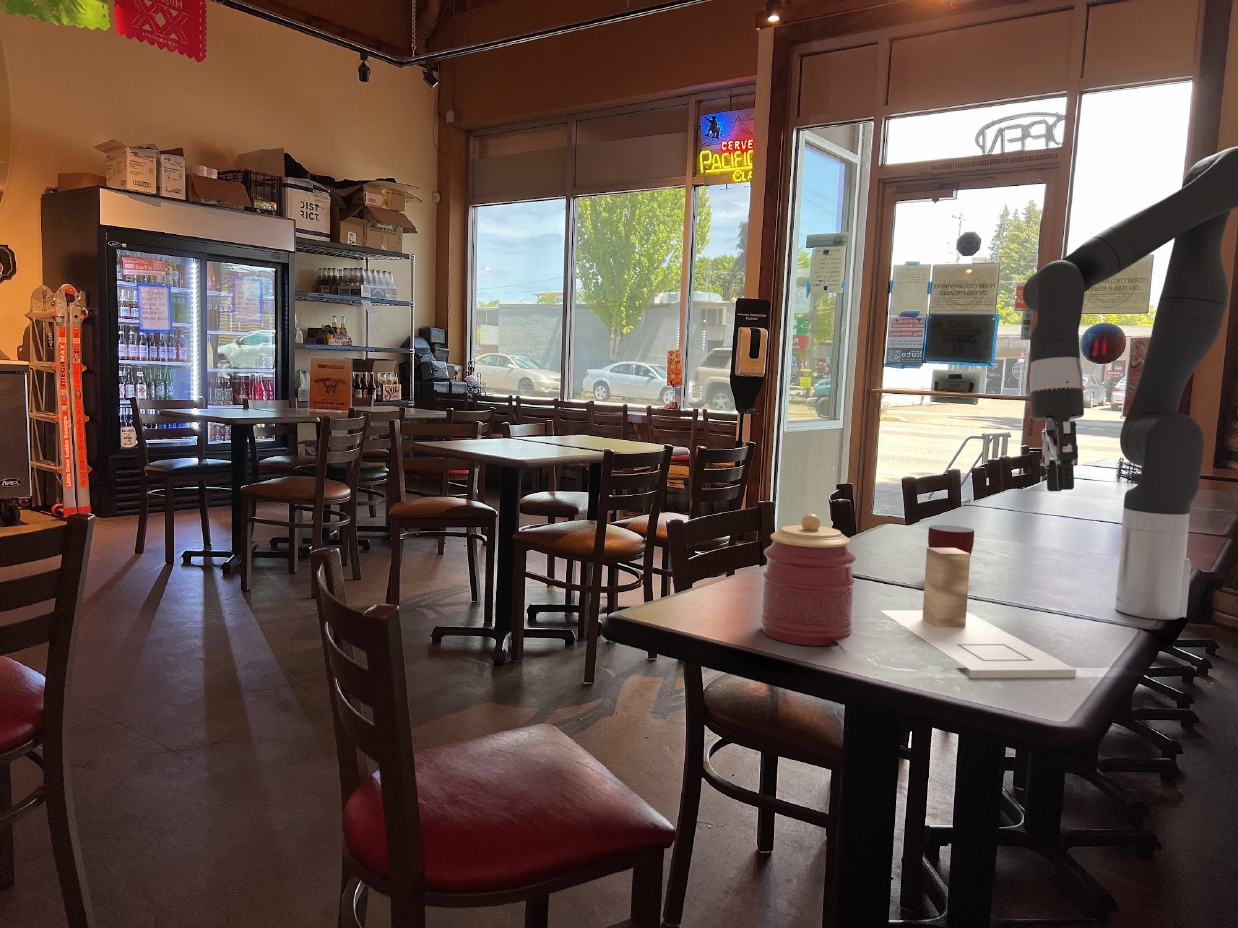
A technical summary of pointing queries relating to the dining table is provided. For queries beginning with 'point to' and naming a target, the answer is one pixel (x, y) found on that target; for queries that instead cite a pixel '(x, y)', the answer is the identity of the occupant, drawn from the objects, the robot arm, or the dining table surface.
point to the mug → (951, 537)
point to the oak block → (946, 587)
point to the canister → (808, 585)
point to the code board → (984, 648)
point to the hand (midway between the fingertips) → (1060, 490)
